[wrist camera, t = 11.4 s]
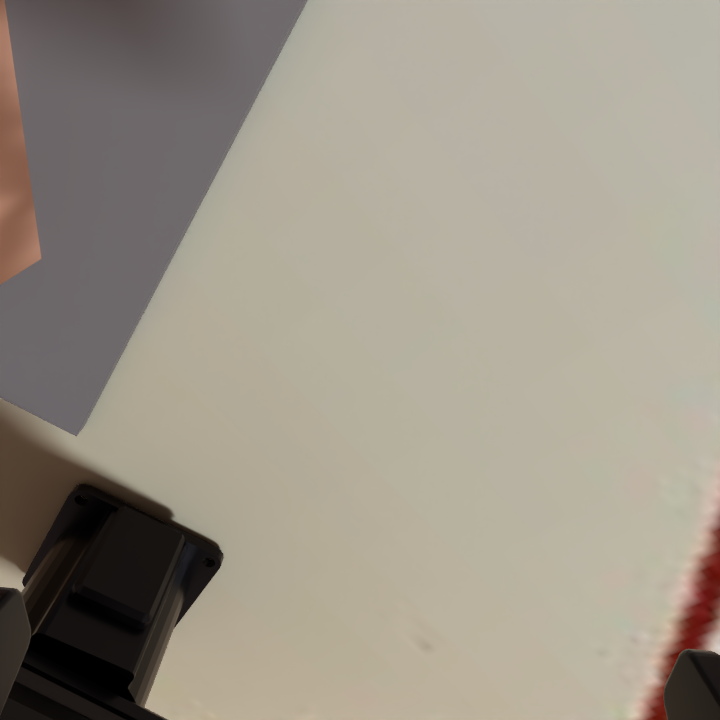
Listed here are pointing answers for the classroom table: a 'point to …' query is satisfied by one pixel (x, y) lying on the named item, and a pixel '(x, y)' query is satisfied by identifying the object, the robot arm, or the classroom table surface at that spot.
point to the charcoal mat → (117, 170)
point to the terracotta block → (13, 172)
